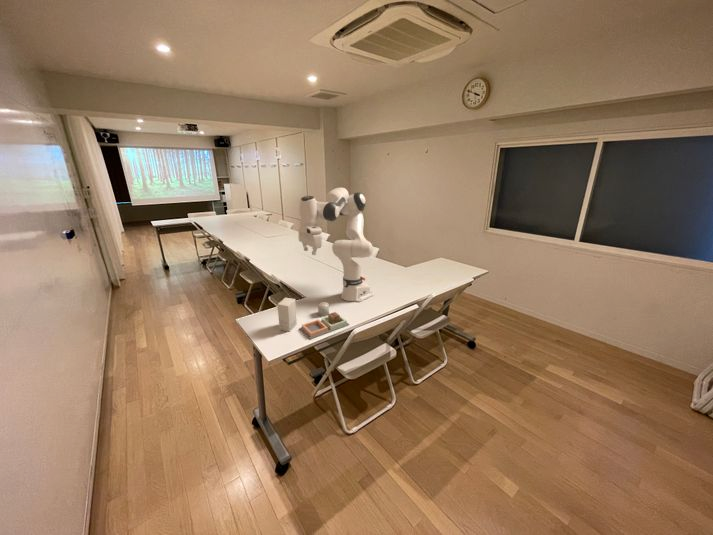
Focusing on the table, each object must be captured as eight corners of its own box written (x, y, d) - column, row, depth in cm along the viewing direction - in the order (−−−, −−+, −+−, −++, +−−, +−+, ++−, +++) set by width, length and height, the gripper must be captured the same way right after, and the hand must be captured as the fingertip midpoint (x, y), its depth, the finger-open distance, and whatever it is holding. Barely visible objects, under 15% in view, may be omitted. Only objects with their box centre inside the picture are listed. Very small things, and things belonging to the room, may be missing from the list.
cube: (335, 319, 154) (335, 311, 153) (339, 323, 151) (339, 315, 149) (328, 322, 152) (328, 314, 150) (332, 325, 148) (332, 317, 147)
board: (337, 316, 159) (337, 312, 159) (349, 325, 150) (349, 320, 150) (299, 328, 146) (299, 324, 145) (310, 339, 137) (309, 335, 136)
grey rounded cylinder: (325, 310, 166) (325, 301, 164) (331, 314, 161) (331, 305, 159) (316, 313, 162) (316, 303, 160) (321, 317, 158) (321, 308, 156)
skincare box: (287, 322, 152) (285, 296, 147) (297, 324, 150) (296, 298, 145) (278, 330, 144) (276, 303, 139) (290, 332, 143) (288, 305, 137)
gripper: (295, 225, 152) (296, 249, 156) (312, 231, 136) (313, 258, 141) (305, 224, 155) (306, 247, 160) (323, 230, 140) (324, 256, 144)
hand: (309, 252), depth 150 cm, fingers open, 8 cm apart
